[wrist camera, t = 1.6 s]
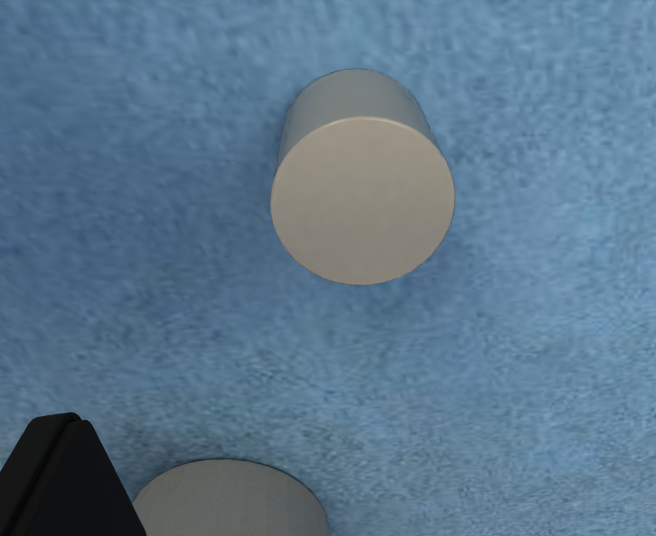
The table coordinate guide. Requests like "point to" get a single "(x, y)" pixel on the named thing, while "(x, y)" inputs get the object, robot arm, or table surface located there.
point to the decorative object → (228, 502)
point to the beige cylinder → (360, 180)
